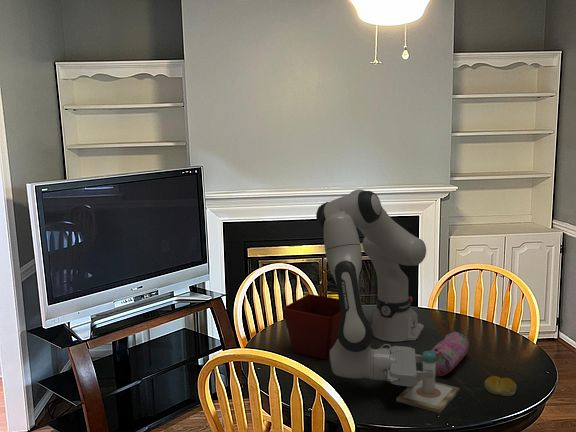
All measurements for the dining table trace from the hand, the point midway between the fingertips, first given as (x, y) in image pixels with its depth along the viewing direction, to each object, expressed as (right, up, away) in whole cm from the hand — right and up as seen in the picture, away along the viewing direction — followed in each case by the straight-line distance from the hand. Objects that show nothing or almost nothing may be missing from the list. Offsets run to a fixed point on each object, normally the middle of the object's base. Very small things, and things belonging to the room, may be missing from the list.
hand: (432, 367), depth 176 cm
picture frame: (-1, -9, +2) cm, 9 cm away
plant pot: (-31, -3, +37) cm, 48 cm away
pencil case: (+10, -5, +23) cm, 25 cm away
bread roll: (+22, -8, +5) cm, 24 cm away
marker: (-1, -8, +1) cm, 8 cm away
